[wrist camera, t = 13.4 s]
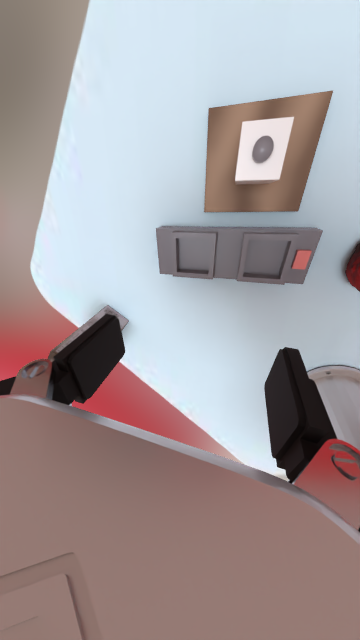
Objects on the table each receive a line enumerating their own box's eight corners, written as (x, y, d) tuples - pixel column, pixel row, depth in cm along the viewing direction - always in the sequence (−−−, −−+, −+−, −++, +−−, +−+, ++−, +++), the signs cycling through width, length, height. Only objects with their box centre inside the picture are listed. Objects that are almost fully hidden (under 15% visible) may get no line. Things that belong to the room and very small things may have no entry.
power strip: (316, 227, 24) (327, 232, 21) (298, 277, 28) (305, 288, 25) (161, 226, 29) (152, 230, 26) (164, 269, 33) (156, 276, 30)
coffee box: (115, 340, 48) (70, 392, 35) (94, 325, 47) (40, 373, 34) (129, 320, 43) (82, 373, 30) (107, 303, 42) (48, 350, 29)
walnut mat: (329, 95, 18) (333, 90, 18) (296, 210, 24) (298, 211, 23) (209, 111, 21) (208, 108, 20) (205, 211, 27) (204, 212, 26)
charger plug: (279, 138, 20) (298, 111, 14) (269, 183, 22) (281, 178, 16) (241, 141, 21) (242, 116, 15) (236, 184, 23) (234, 179, 17)
